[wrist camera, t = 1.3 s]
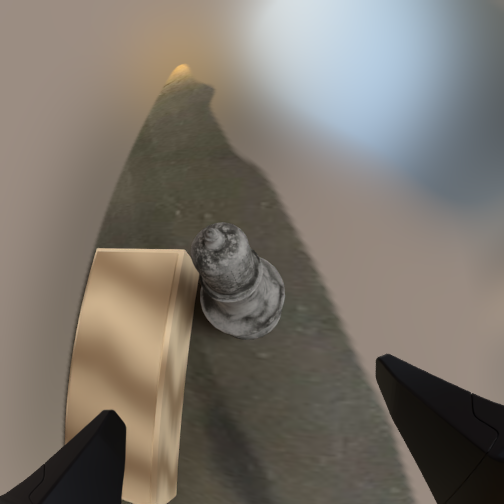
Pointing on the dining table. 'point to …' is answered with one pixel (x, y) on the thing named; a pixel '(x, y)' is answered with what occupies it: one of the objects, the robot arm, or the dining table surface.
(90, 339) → the tan wooden block
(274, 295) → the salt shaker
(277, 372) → the dining table surface
